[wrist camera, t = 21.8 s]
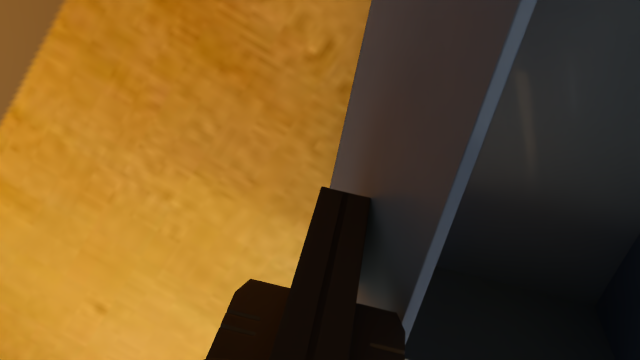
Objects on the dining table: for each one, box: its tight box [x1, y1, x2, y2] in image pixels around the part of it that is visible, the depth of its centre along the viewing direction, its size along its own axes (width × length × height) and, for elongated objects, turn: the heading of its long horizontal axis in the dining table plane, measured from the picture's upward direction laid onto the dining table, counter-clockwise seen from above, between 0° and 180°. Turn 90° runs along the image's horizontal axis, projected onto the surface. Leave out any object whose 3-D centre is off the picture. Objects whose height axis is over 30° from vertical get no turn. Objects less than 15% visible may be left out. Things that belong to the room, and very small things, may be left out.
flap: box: [330, 0, 537, 345], centre depth 15 cm, size 18×7×1 cm
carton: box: [405, 0, 640, 360], centre depth 18 cm, size 18×16×15 cm
